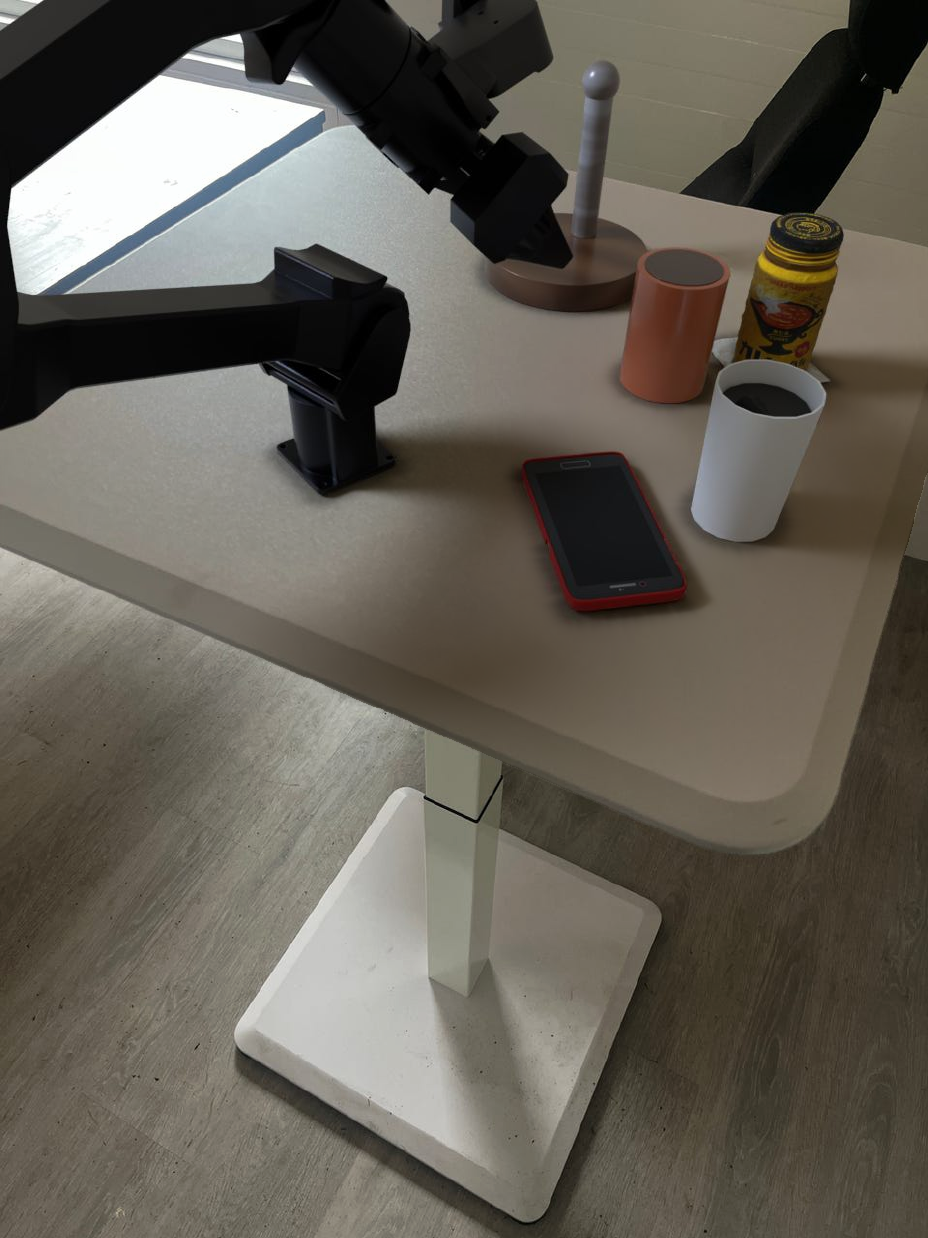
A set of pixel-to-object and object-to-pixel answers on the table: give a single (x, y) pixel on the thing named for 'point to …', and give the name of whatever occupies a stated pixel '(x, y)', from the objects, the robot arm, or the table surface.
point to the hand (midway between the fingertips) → (534, 232)
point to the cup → (673, 323)
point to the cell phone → (601, 532)
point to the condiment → (788, 294)
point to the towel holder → (582, 226)
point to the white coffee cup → (754, 446)
